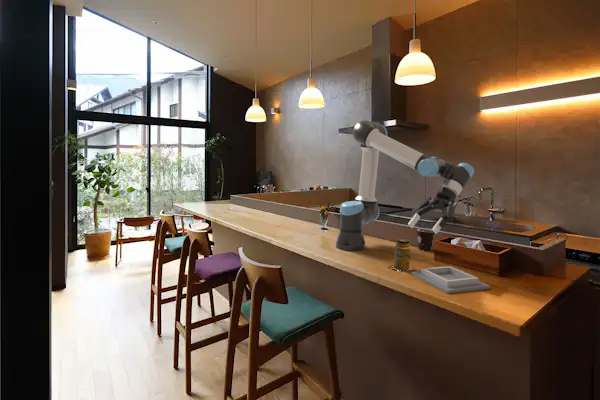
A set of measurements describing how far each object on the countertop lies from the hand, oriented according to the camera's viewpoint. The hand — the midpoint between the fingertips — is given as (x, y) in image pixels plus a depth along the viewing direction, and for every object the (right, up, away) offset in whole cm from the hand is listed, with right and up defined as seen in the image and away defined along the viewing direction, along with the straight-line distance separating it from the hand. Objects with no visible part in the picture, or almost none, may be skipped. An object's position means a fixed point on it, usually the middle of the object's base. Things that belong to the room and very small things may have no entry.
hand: (421, 228), depth 140 cm
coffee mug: (+13, -13, +30) cm, 35 cm away
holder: (+4, -18, -17) cm, 25 cm away
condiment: (-10, -16, -3) cm, 19 cm away
